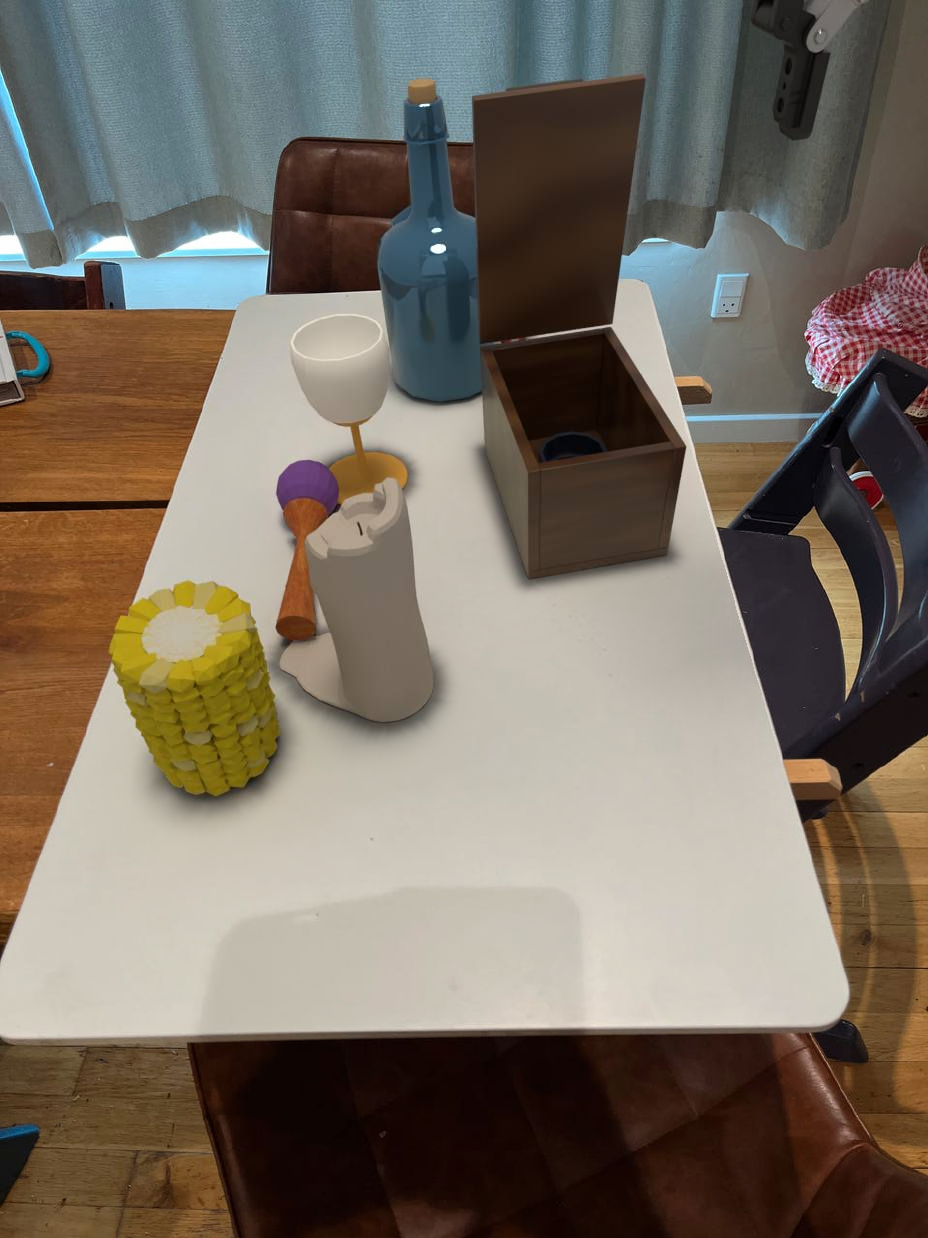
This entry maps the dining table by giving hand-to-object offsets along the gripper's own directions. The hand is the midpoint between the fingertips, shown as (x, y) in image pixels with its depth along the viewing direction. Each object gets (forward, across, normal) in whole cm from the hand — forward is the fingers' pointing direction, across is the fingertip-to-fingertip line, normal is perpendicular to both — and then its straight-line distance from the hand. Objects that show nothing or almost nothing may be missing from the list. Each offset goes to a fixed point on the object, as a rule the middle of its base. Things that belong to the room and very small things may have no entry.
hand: (872, 124), depth 40 cm
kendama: (+36, -36, +14) cm, 53 cm away
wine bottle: (+36, -18, +43) cm, 59 cm away
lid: (+13, -10, +25) cm, 30 cm away
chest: (+36, -10, +17) cm, 41 cm away
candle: (+36, -33, 0) cm, 49 cm away
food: (+36, -43, -5) cm, 56 cm away
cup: (+36, -30, +25) cm, 53 cm away
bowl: (+35, -10, +16) cm, 40 cm away
